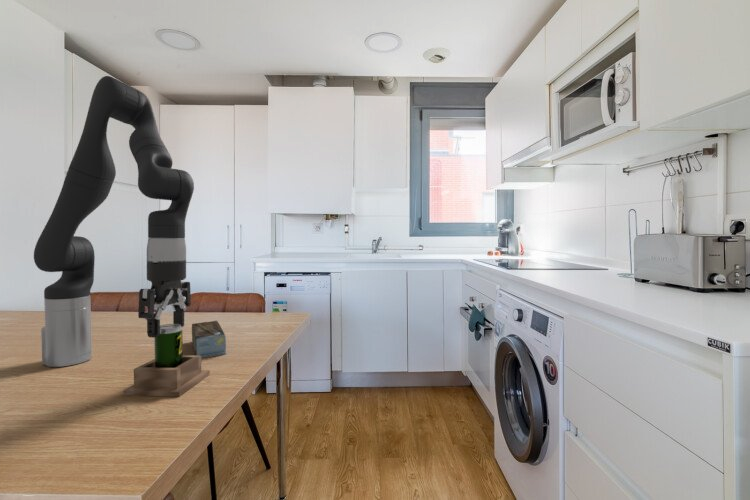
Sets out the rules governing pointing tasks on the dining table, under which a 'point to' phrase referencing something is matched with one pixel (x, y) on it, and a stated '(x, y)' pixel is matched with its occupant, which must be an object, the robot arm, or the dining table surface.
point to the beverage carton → (208, 339)
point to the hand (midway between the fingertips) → (166, 331)
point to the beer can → (169, 346)
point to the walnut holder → (167, 378)
